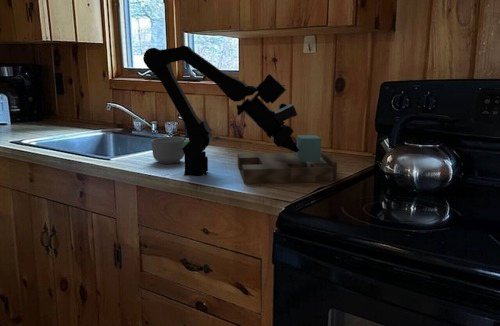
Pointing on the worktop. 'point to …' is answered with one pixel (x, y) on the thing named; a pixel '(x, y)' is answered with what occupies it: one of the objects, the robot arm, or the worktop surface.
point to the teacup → (168, 149)
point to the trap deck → (285, 168)
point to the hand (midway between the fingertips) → (297, 151)
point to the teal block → (308, 148)
